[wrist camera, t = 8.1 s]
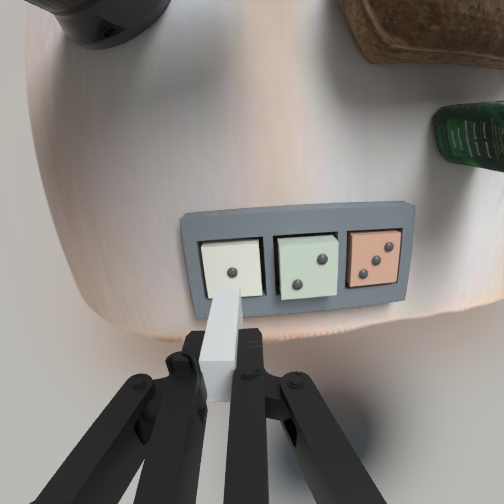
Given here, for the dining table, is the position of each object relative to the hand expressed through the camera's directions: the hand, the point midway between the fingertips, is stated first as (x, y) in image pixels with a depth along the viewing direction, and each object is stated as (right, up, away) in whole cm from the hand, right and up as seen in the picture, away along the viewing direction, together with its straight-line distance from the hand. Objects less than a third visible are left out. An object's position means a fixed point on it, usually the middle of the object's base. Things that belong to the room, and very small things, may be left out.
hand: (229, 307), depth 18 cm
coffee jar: (+28, +19, +11) cm, 36 cm away
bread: (+27, +35, +6) cm, 44 cm away
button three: (+15, +3, +15) cm, 22 cm away
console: (+7, +3, +17) cm, 18 cm away
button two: (+7, +2, +14) cm, 16 cm away
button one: (-1, +2, +16) cm, 16 cm away
